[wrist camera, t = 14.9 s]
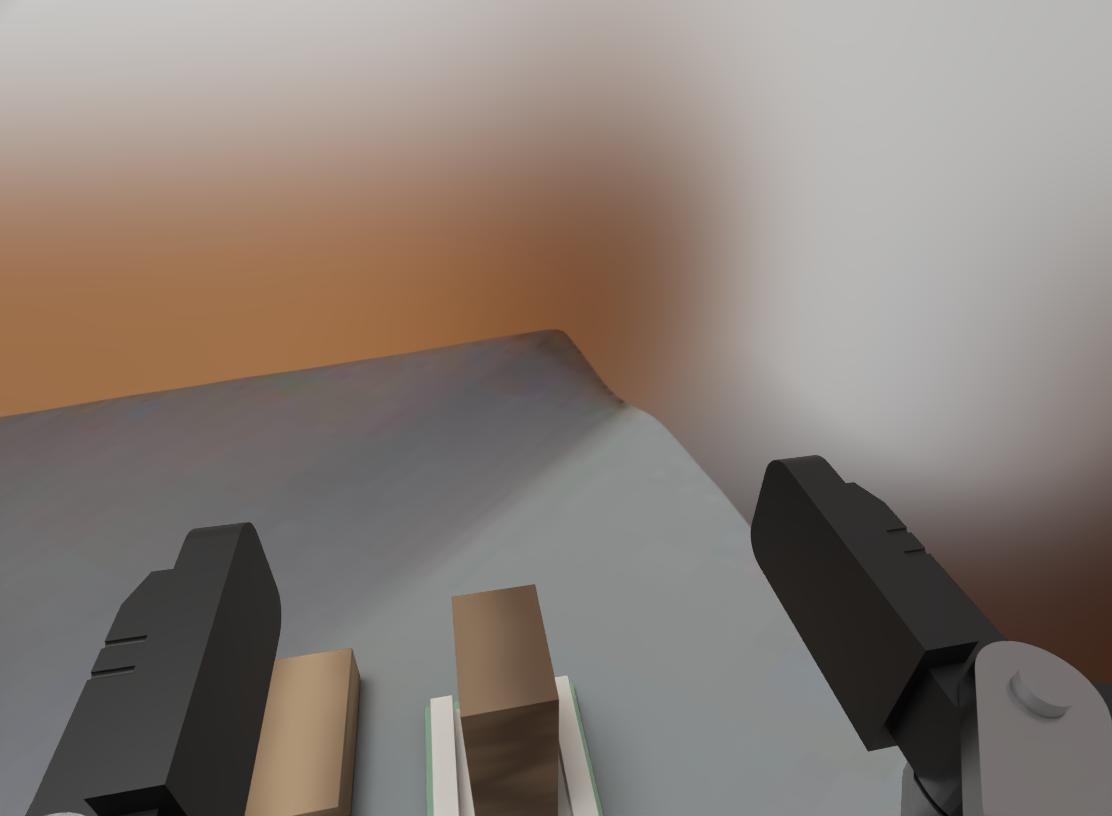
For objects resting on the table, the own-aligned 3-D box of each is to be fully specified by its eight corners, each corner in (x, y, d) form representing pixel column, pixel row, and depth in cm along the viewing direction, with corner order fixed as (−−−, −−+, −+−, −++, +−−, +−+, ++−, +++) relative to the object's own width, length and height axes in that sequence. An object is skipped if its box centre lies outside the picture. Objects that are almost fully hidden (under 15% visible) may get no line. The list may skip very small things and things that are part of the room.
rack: (438, 879, 31) (433, 859, 29) (434, 721, 37) (429, 699, 36) (599, 844, 32) (601, 823, 30) (567, 697, 38) (568, 675, 37)
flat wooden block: (93, 885, 31) (66, 859, 29) (154, 710, 38) (135, 681, 36) (348, 834, 32) (337, 806, 31) (360, 677, 40) (351, 647, 38)
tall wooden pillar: (478, 839, 31) (460, 717, 25) (468, 723, 36) (451, 596, 30) (557, 822, 32) (559, 699, 26) (537, 711, 37) (534, 584, 31)
